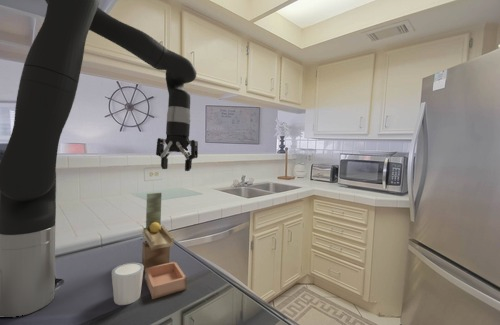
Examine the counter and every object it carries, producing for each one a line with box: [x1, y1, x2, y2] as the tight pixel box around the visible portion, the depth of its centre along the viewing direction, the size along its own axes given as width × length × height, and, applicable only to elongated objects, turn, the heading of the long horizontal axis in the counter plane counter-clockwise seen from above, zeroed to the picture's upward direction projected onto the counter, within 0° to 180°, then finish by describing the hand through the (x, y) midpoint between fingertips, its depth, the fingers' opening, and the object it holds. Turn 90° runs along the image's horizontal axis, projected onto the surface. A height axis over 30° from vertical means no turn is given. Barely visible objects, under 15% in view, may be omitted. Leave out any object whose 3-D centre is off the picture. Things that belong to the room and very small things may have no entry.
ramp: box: [141, 192, 175, 250], centre depth 70 cm, size 6×14×13 cm, turn 34°
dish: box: [144, 261, 188, 300], centre depth 61 cm, size 8×10×3 cm
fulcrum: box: [141, 240, 171, 272], centre depth 71 cm, size 7×4×8 cm, turn 124°
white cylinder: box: [111, 262, 144, 306], centre depth 55 cm, size 7×7×7 cm
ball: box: [150, 222, 161, 233], centre depth 73 cm, size 3×3×3 cm
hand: (175, 169), depth 78 cm, fingers open, 8 cm apart
